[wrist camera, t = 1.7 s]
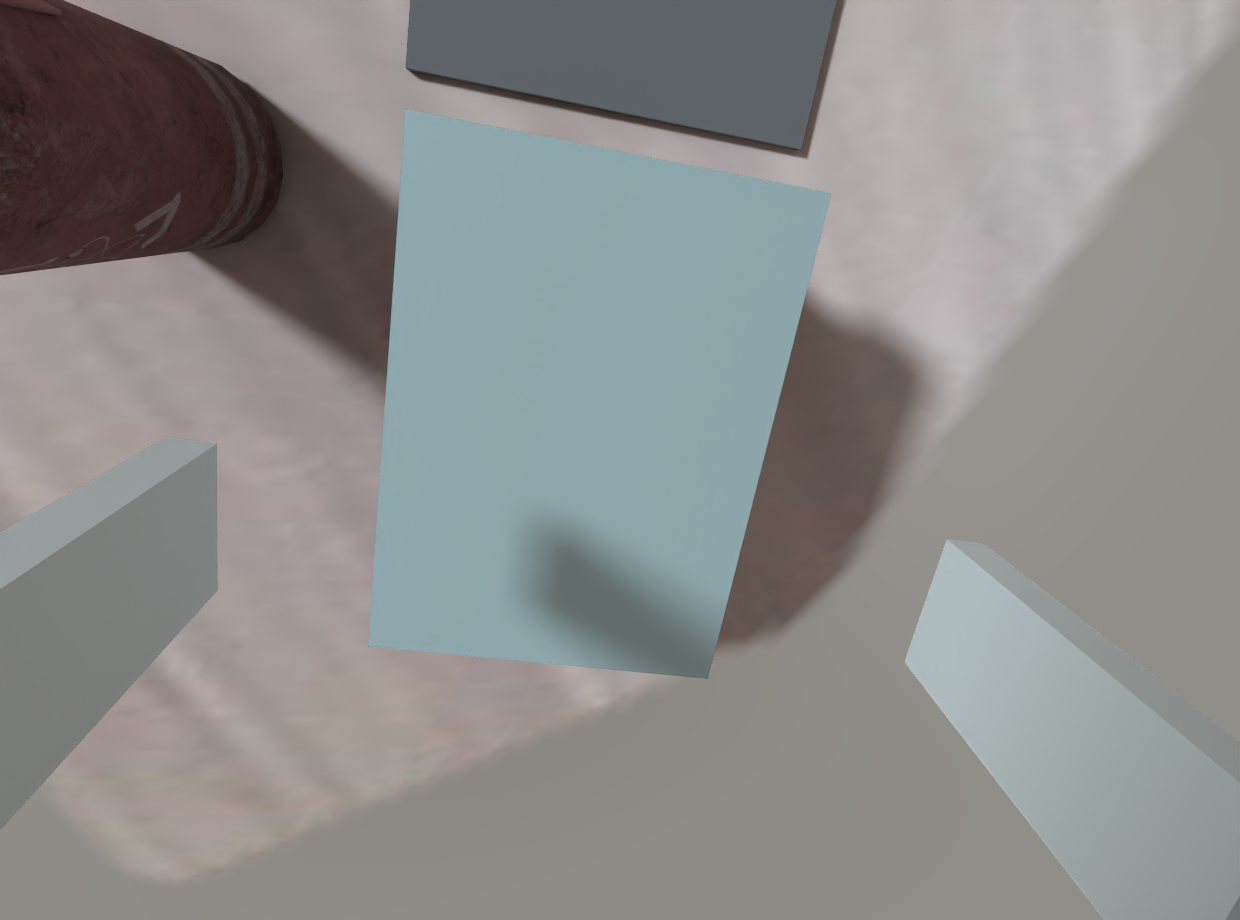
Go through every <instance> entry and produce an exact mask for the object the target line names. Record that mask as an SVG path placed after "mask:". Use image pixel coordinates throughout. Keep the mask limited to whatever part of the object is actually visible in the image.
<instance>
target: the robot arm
mask: <svg viewBox="0 0 1240 920" xmlns="http://www.w3.org/2000/svg"><path fill="white" fill-rule="evenodd" d="M217 590H218V585H217V443H210V442H202V441H194V440H187V439H179V438H171V437H167V438H165V439H163V440H161V441H160V442H158V443H156V444H154V445H152V446H151V447H149V448H147V449H145V450H144V451H142V452H140V453H138V454H137V455H135V456H133V457H131V458H130V459H128V460H126V461H124V462H123V463H121V464H119V465H117V466H116V467H114V468H112V469H110V470H109V471H107V472H105V473H103V474H102V475H100V476H98V477H96V478H95V479H93V480H91V481H89V482H88V483H86V484H84V485H82V486H81V487H79V488H77V489H75V490H74V491H72V492H70V493H68V494H67V495H65V496H63V497H61V498H60V499H58V500H56V501H54V502H53V503H51V504H49V505H47V506H46V507H44V508H42V509H40V510H39V511H37V512H35V513H33V514H32V515H30V516H28V517H26V518H25V519H23V520H21V521H19V522H17V523H16V524H14V525H12V526H10V527H9V528H7V529H5V530H3V531H2V532H0V830H1V829H2V828H3V826H4V825H5V824H6V823H7V822H8V821H9V820H10V819H11V818H12V817H13V815H14V814H15V813H16V812H17V811H18V810H19V809H20V808H21V807H22V805H23V804H24V803H25V802H26V801H27V800H28V799H29V798H30V797H31V796H32V795H33V793H34V792H35V791H36V790H37V789H38V788H39V787H40V786H41V785H42V783H43V782H44V781H45V780H46V779H47V778H48V777H49V776H50V775H51V774H52V772H53V771H54V770H55V769H56V768H57V767H58V766H59V765H60V764H61V762H62V761H63V760H64V759H65V758H66V757H67V756H68V755H69V754H70V753H71V751H72V750H73V749H74V748H75V747H76V746H77V745H78V744H79V743H80V741H81V740H82V739H83V738H84V737H85V736H86V735H87V734H88V733H89V732H90V730H91V729H92V728H93V727H94V726H95V725H96V724H97V723H98V722H99V720H100V719H101V718H102V717H103V716H104V715H105V714H106V713H107V712H108V711H109V709H110V708H111V707H112V706H113V705H114V704H115V703H116V702H117V701H118V699H119V698H120V697H121V696H122V695H123V694H124V693H125V692H126V691H127V690H128V688H129V687H130V686H131V685H132V684H133V683H134V682H135V681H136V680H137V678H138V677H139V676H140V675H141V674H142V673H143V672H144V671H145V670H146V669H147V667H148V666H149V665H150V664H151V663H152V662H153V661H154V660H155V659H156V657H157V656H158V655H159V654H160V653H161V652H162V651H163V650H164V649H165V648H166V646H167V645H168V644H169V643H170V642H171V641H172V640H173V639H174V638H175V636H176V635H177V634H178V633H179V632H180V631H181V630H182V629H183V628H184V627H185V625H186V624H187V623H188V622H189V621H190V620H191V619H192V618H193V617H194V615H195V614H196V613H197V612H198V611H199V610H200V609H201V608H202V607H203V606H204V604H205V603H206V602H207V601H208V600H209V599H210V598H211V597H212V596H213V594H214V593H215V592H216V591H217ZM904 662H905V664H906V665H907V666H908V668H909V669H910V670H911V671H912V673H913V674H914V675H915V676H916V678H917V679H918V680H919V682H920V683H921V684H922V685H923V687H924V688H925V689H926V691H927V692H928V693H929V695H930V696H931V697H932V699H933V700H934V701H935V702H936V704H937V705H938V706H939V708H940V709H941V710H942V711H943V713H944V714H945V715H946V717H947V718H948V719H949V720H950V722H951V723H952V724H953V725H954V727H955V728H956V729H957V731H958V732H959V733H960V735H961V736H962V737H963V738H964V740H965V741H966V742H967V744H968V745H969V746H970V747H971V749H972V750H973V751H974V753H975V754H976V755H977V756H978V758H979V759H980V760H981V762H982V763H983V764H984V766H985V767H986V768H987V769H988V771H989V772H990V773H991V775H992V776H993V777H994V778H995V780H996V781H997V782H998V783H999V785H1000V786H1001V787H1002V789H1003V790H1004V791H1005V793H1006V794H1007V795H1008V796H1009V798H1010V799H1011V800H1012V802H1013V803H1014V804H1015V806H1016V807H1017V808H1018V809H1019V811H1020V812H1021V813H1022V814H1023V816H1024V817H1025V818H1026V820H1027V821H1028V822H1029V823H1030V825H1031V826H1032V827H1033V829H1034V830H1035V831H1036V833H1037V834H1038V835H1039V836H1040V838H1041V839H1042V840H1043V841H1044V843H1045V844H1046V845H1047V847H1048V848H1049V849H1050V851H1051V852H1052V853H1053V855H1054V856H1055V857H1056V858H1057V860H1058V861H1059V862H1060V864H1061V865H1062V866H1063V867H1064V869H1065V870H1066V871H1067V872H1068V874H1069V875H1070V876H1071V878H1072V879H1073V880H1074V882H1075V883H1076V884H1077V885H1078V887H1079V888H1080V889H1081V891H1082V892H1083V893H1084V894H1085V896H1086V897H1087V898H1088V899H1089V901H1090V902H1091V903H1092V905H1093V906H1094V907H1095V908H1096V910H1097V911H1098V912H1099V914H1100V915H1101V916H1102V918H1103V919H1104V920H1240V741H1238V740H1237V739H1235V738H1234V737H1233V736H1232V735H1231V734H1229V733H1228V732H1227V731H1225V730H1224V729H1223V728H1221V727H1220V726H1219V725H1218V724H1216V723H1215V722H1214V721H1212V720H1211V719H1210V718H1209V717H1207V716H1206V715H1205V714H1203V713H1202V712H1201V711H1199V710H1198V709H1196V707H1194V706H1193V705H1192V704H1190V703H1189V702H1188V701H1186V700H1185V699H1184V698H1183V697H1181V696H1180V695H1178V694H1177V693H1176V692H1175V691H1173V690H1172V689H1171V688H1170V687H1168V686H1167V685H1166V684H1164V683H1163V682H1162V681H1161V680H1159V679H1158V678H1157V677H1155V676H1154V675H1153V674H1152V673H1150V672H1149V671H1148V670H1146V669H1145V668H1144V667H1142V666H1141V665H1140V664H1139V663H1137V662H1136V661H1135V660H1133V659H1132V658H1131V657H1129V656H1128V655H1127V654H1125V653H1124V652H1123V651H1122V650H1120V649H1119V648H1118V647H1117V646H1115V645H1114V644H1113V643H1111V642H1110V641H1109V640H1107V639H1106V638H1105V637H1104V636H1102V635H1101V634H1099V633H1098V632H1097V631H1096V630H1095V629H1093V628H1092V627H1091V626H1089V625H1088V624H1087V623H1085V622H1084V621H1083V620H1081V619H1080V618H1079V617H1078V616H1076V615H1075V614H1074V613H1072V612H1071V611H1070V610H1069V609H1067V608H1066V607H1064V606H1063V605H1062V604H1061V603H1060V602H1058V601H1057V600H1056V599H1054V598H1053V597H1052V596H1050V595H1049V594H1048V593H1047V592H1045V591H1044V590H1042V589H1041V588H1040V587H1039V586H1037V585H1036V584H1035V583H1034V582H1032V581H1031V580H1030V579H1028V578H1027V577H1026V576H1025V575H1023V574H1022V573H1021V572H1019V571H1018V570H1017V569H1016V568H1014V567H1013V566H1011V565H1010V564H1009V563H1008V562H1006V561H1005V560H1004V559H1003V558H1001V557H1000V556H999V555H997V554H996V553H995V552H993V551H992V550H991V549H989V548H988V547H987V546H986V545H984V544H980V543H972V542H964V541H957V540H949V539H947V541H946V544H945V547H944V549H943V552H942V555H941V558H940V561H939V564H938V567H937V570H936V573H935V575H934V578H933V581H932V584H931V587H930V590H929V592H928V596H927V598H926V601H925V604H924V607H923V610H922V613H921V615H920V618H919V621H918V624H917V627H916V630H915V633H914V636H913V638H912V641H911V644H910V647H909V650H908V653H907V656H906V659H905V661H904Z"/></svg>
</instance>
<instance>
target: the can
mask: <svg viewBox="0 0 1240 920" xmlns="http://www.w3.org/2000/svg"><path fill="white" fill-rule="evenodd" d="M282 177H283V171H282V160H281V149H280V143H279V141H278V138H277V136H276V133H275V130H274V128H273V125H272V123H271V120H270V118H269V115H268V113H267V112H266V111H265V109H264V108H263V107H262V105H261V104H260V103H259V101H258V100H257V99H256V97H255V96H254V95H253V93H252V92H251V91H250V89H249V88H248V87H247V86H246V85H245V84H244V83H242V82H241V81H240V80H238V79H237V78H236V77H235V76H233V75H232V74H231V73H230V72H228V71H227V70H226V69H225V68H223V67H222V66H221V65H218V64H216V63H213V62H211V61H209V60H206V59H204V58H201V57H199V56H196V55H194V54H192V53H189V52H187V51H184V50H182V49H180V48H177V47H175V46H172V45H170V44H167V43H165V42H163V41H160V40H158V39H155V38H153V37H151V36H148V35H146V34H143V33H141V32H138V31H136V30H134V29H131V28H129V27H126V26H124V25H122V24H119V23H117V22H114V21H112V20H110V19H107V18H105V17H102V16H100V15H97V14H95V13H93V12H90V11H88V10H85V9H83V8H81V7H78V6H76V5H73V4H71V3H68V2H66V1H64V0H0V275H6V274H14V273H21V272H29V271H37V270H45V269H53V268H61V267H68V266H76V265H84V264H92V263H100V262H108V261H115V260H123V259H131V258H139V257H147V256H154V255H162V254H170V253H178V252H186V251H194V250H201V249H209V248H216V247H219V246H223V245H227V244H230V243H234V242H237V241H241V240H242V239H243V238H245V237H246V236H248V235H249V234H250V233H252V232H253V231H255V230H256V229H257V228H259V227H260V226H261V225H262V224H263V223H264V221H265V220H266V218H267V217H268V215H269V213H270V212H271V210H272V209H273V207H274V206H275V204H276V203H277V198H278V194H279V190H280V185H281V181H282Z"/></svg>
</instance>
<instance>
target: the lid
mask: <svg viewBox="0 0 1240 920" xmlns="http://www.w3.org/2000/svg"><path fill="white" fill-rule="evenodd" d="M830 197H831V193H827V192H822V191H817V190H812V189H807V188H802V187H797V186H792V185H787V184H782V183H777V182H772V181H767V180H762V179H757V178H752V177H747V176H742V175H737V174H731V173H726V172H721V171H716V170H711V169H706V168H701V167H696V166H691V165H686V164H681V163H676V162H671V161H666V160H661V159H656V158H651V157H646V156H641V155H635V154H630V153H625V152H620V151H615V150H610V149H605V148H600V147H595V146H590V145H585V144H580V143H575V142H570V141H565V140H560V139H555V138H550V137H545V136H540V135H534V134H529V133H524V132H519V131H514V130H509V129H504V128H499V127H494V126H489V125H484V124H479V123H474V122H469V121H464V120H459V119H454V118H449V117H444V116H438V115H433V114H428V113H423V112H418V111H413V110H408V109H405V122H404V137H403V151H402V166H401V180H400V195H399V209H398V224H397V238H396V252H395V267H394V281H393V296H392V310H391V325H390V339H389V354H388V368H387V383H386V397H385V411H384V426H383V440H382V455H381V469H380V484H379V498H378V513H377V527H376V542H375V556H374V570H373V585H372V599H371V614H370V628H369V643H368V647H379V648H389V649H400V650H411V651H421V652H432V653H442V654H453V655H463V656H474V657H484V658H495V659H505V660H516V661H526V662H537V663H547V664H558V665H568V666H579V667H589V668H600V669H610V670H621V671H631V672H642V673H652V674H663V675H673V676H684V677H694V678H705V679H708V676H709V672H710V668H711V664H712V660H713V657H714V653H715V649H716V645H717V641H718V637H719V633H720V629H721V625H722V621H723V617H724V613H725V609H726V605H727V602H728V598H729V594H730V590H731V586H732V582H733V578H734V574H735V570H736V566H737V562H738V558H739V554H740V551H741V547H742V543H743V539H744V535H745V531H746V527H747V523H748V519H749V515H750V511H751V507H752V503H753V500H754V496H755V492H756V488H757V484H758V480H759V476H760V472H761V468H762V464H763V460H764V456H765V452H766V449H767V445H768V441H769V437H770V433H771V429H772V425H773V421H774V417H775V413H776V409H777V405H778V401H779V398H780V394H781V390H782V386H783V382H784V378H785V374H786V370H787V366H788V362H789V358H790V354H791V350H792V346H793V343H794V339H795V335H796V331H797V327H798V323H799V319H800V315H801V311H802V307H803V303H804V299H805V295H806V292H807V288H808V284H809V280H810V276H811V272H812V268H813V264H814V260H815V256H816V252H817V248H818V244H819V241H820V237H821V233H822V229H823V225H824V221H825V217H826V213H827V209H828V205H829V201H830Z"/></svg>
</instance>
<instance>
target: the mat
mask: <svg viewBox="0 0 1240 920" xmlns="http://www.w3.org/2000/svg"><path fill="white" fill-rule="evenodd" d="M836 2H837V0H410V12H409V27H408V42H407V56H406V69H407V70H410V71H415V72H420V73H425V74H430V75H435V76H440V77H445V78H449V79H454V80H459V81H464V82H469V83H474V84H479V85H483V86H488V87H493V88H498V89H503V90H508V91H513V92H518V93H522V94H527V95H532V96H537V97H542V98H547V99H552V100H556V101H561V102H566V103H571V104H576V105H581V106H586V107H591V108H595V109H600V110H605V111H610V112H615V113H620V114H625V115H629V116H634V117H639V118H644V119H649V120H654V121H659V122H664V123H668V124H673V125H678V126H683V127H688V128H693V129H698V130H702V131H707V132H712V133H717V134H722V135H727V136H732V137H737V138H741V139H746V140H751V141H756V142H761V143H766V144H771V145H775V146H780V147H785V148H790V149H795V150H801V149H802V145H803V141H804V136H805V132H806V128H807V124H808V120H809V115H810V111H811V107H812V103H813V99H814V94H815V90H816V86H817V82H818V77H819V73H820V69H821V65H822V61H823V56H824V52H825V48H826V44H827V40H828V35H829V31H830V27H831V23H832V18H833V14H834V10H835V6H836Z"/></svg>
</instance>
